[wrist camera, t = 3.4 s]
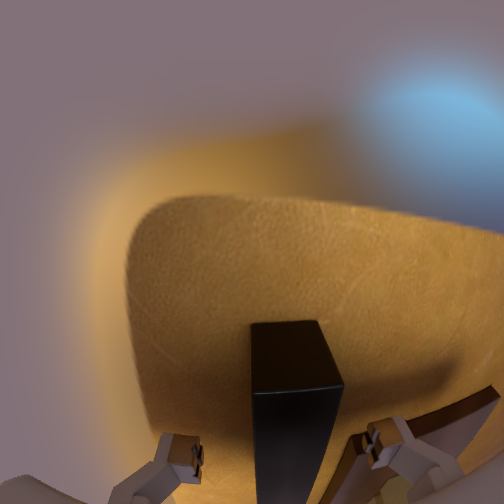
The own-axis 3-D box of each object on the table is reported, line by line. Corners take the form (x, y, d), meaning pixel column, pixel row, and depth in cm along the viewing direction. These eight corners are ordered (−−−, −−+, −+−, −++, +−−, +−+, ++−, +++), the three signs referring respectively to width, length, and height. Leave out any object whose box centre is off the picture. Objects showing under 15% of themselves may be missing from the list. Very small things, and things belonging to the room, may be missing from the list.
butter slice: (379, 489, 12) (390, 523, 9) (388, 478, 11) (401, 514, 8) (425, 472, 12) (439, 501, 9) (437, 459, 11) (453, 489, 8)
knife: (285, 513, 15) (287, 542, 12) (258, 514, 15) (259, 543, 12) (317, 319, 9) (345, 384, 6) (250, 323, 9) (251, 392, 6)
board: (307, 523, 17) (308, 533, 15) (350, 435, 11) (357, 455, 10) (404, 498, 17) (408, 506, 15) (491, 385, 11) (501, 396, 10)
